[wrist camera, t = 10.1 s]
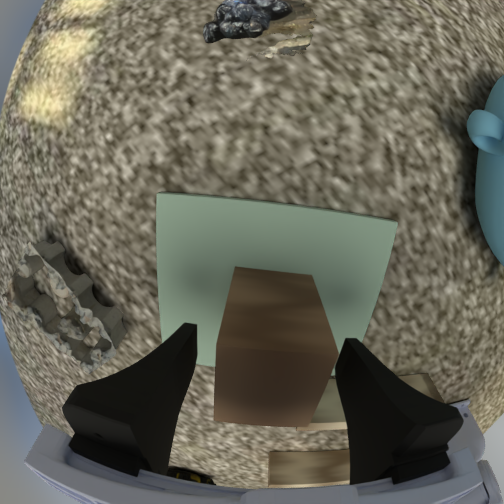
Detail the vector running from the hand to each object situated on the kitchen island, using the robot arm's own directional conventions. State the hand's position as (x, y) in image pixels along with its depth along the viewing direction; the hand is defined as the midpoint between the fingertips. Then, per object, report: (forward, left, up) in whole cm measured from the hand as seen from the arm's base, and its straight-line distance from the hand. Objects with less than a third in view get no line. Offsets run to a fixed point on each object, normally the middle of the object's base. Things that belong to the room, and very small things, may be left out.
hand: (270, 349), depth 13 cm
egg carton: (+15, +3, -5) cm, 16 cm away
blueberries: (+3, -17, -6) cm, 18 cm away
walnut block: (0, 0, -4) cm, 4 cm away
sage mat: (0, 0, -5) cm, 5 cm away
